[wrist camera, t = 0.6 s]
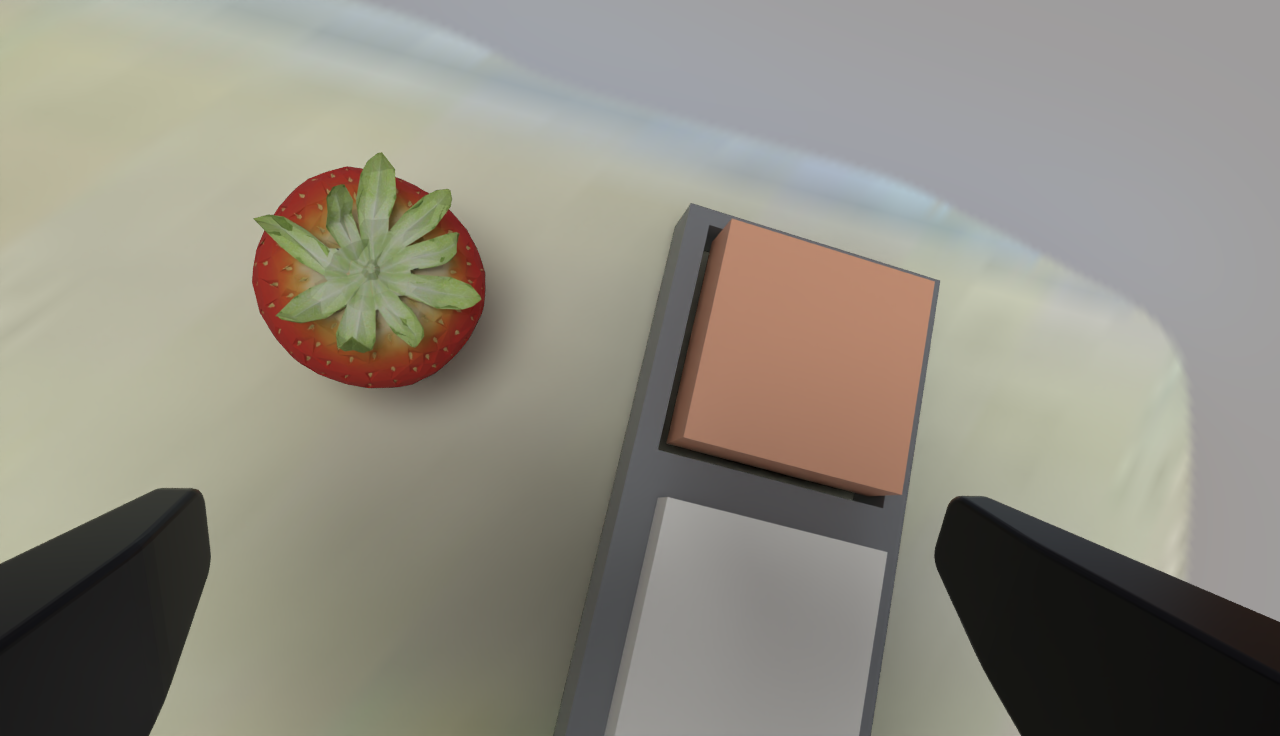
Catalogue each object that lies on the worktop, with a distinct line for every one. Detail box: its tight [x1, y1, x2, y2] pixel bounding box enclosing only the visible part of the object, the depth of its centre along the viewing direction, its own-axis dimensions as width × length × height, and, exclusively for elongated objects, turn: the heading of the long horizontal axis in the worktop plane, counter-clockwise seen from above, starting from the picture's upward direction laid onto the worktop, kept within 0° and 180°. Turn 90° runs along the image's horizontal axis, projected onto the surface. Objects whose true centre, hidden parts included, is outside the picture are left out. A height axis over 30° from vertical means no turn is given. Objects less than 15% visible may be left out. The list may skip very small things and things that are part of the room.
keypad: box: [553, 203, 940, 736], centre depth 22 cm, size 22×8×3 cm, turn 166°
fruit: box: [252, 153, 485, 388], centre depth 19 cm, size 5×5×8 cm
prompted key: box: [666, 219, 935, 496], centre depth 23 cm, size 6×6×2 cm
